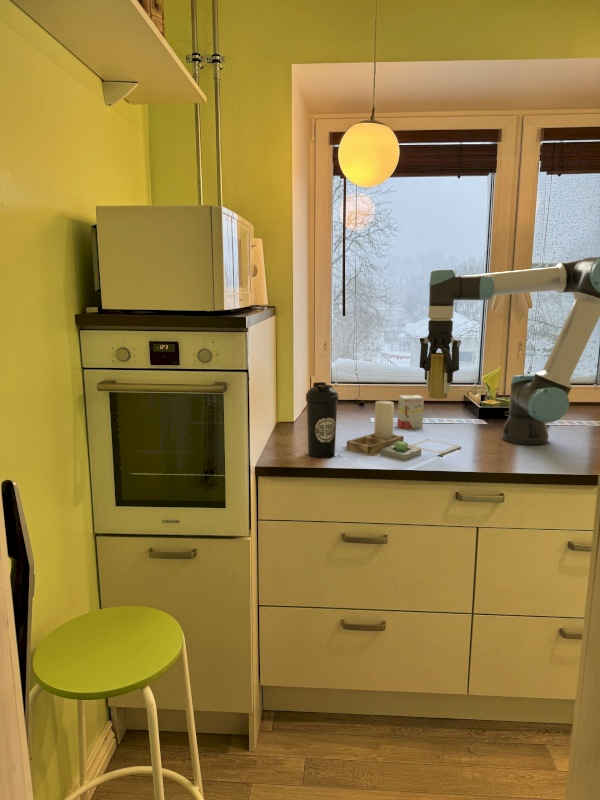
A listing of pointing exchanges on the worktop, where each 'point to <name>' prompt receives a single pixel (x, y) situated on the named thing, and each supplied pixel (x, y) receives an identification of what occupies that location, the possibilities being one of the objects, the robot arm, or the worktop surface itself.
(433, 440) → the rim
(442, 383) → the vase
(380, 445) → the wooden divided tray
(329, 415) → the water bottle
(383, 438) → the cream rounded cylinder
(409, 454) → the square block with hole
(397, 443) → the button
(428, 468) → the worktop surface
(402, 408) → the ink box
